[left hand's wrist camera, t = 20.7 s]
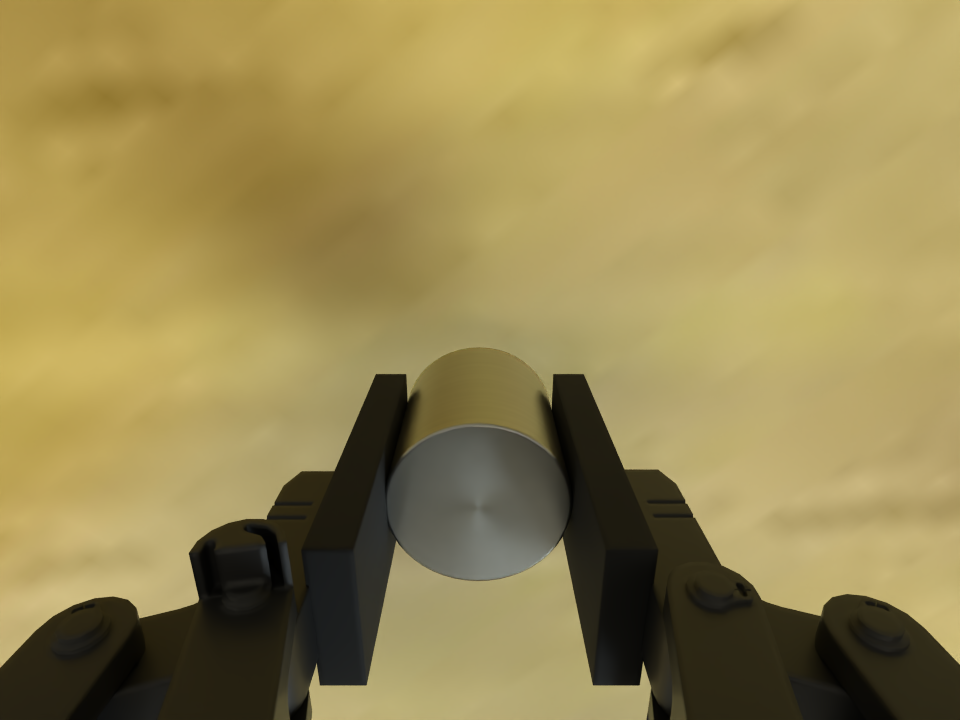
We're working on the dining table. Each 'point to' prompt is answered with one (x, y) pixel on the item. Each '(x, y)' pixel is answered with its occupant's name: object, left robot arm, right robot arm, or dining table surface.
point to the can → (478, 469)
